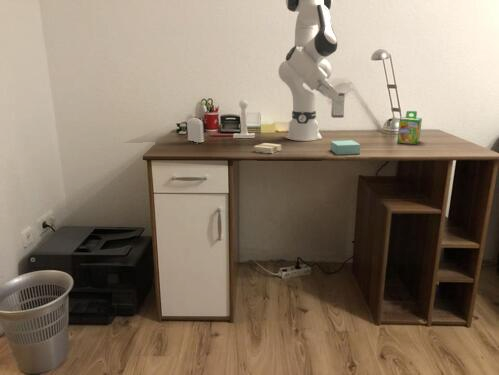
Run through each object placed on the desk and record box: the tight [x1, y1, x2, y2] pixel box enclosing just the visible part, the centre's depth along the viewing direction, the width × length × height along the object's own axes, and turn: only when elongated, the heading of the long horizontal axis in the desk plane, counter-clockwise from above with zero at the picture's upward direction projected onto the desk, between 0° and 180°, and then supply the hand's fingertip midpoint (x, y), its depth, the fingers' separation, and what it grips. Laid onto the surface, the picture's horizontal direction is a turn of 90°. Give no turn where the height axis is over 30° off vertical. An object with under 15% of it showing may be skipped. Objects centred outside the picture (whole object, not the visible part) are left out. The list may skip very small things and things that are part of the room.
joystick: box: [233, 99, 256, 139], centre depth 222 cm, size 11×8×20 cm
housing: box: [330, 92, 346, 119], centre depth 181 cm, size 4×4×10 cm
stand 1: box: [253, 142, 282, 154], centre depth 193 cm, size 9×9×2 cm
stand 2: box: [330, 139, 361, 155], centre depth 188 cm, size 10×10×4 cm
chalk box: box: [396, 110, 423, 145], centre depth 204 cm, size 9×9×15 cm
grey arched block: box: [186, 117, 205, 142], centre depth 214 cm, size 10×4×12 cm, turn 39°
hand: (339, 102), depth 181 cm, fingers closed on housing, 4 cm apart
